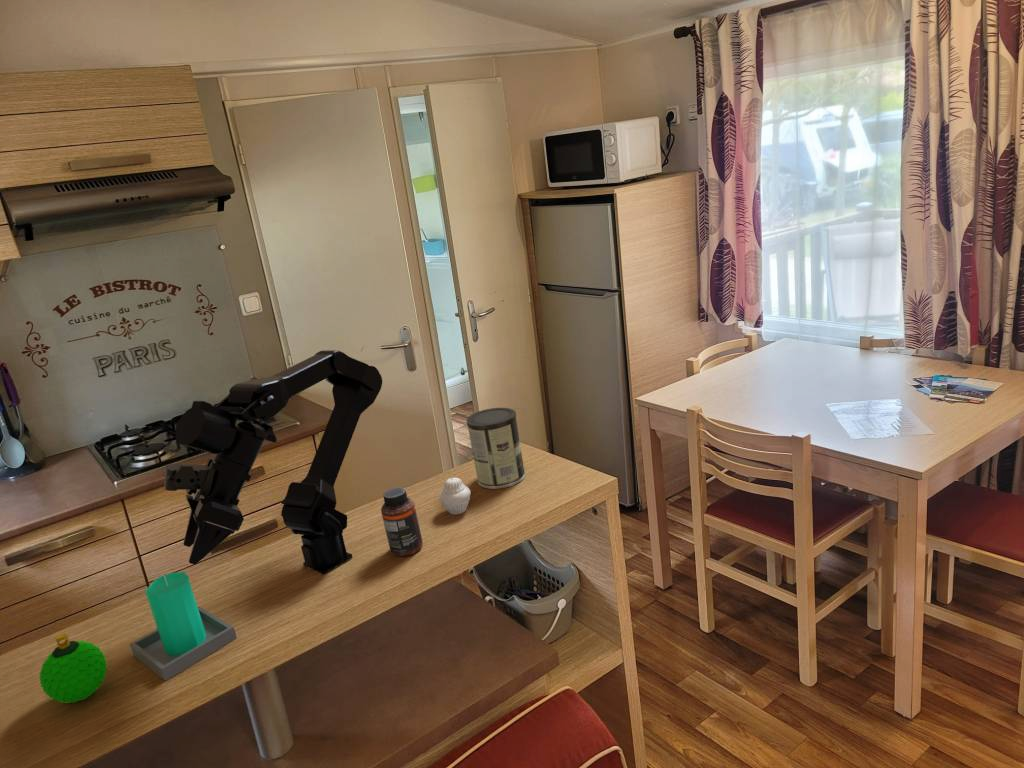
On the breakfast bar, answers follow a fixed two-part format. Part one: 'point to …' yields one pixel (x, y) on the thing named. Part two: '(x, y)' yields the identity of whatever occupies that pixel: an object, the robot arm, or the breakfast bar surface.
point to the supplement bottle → (401, 523)
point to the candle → (176, 613)
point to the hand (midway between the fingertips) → (189, 554)
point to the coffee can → (496, 447)
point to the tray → (170, 665)
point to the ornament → (72, 670)
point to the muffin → (455, 496)
